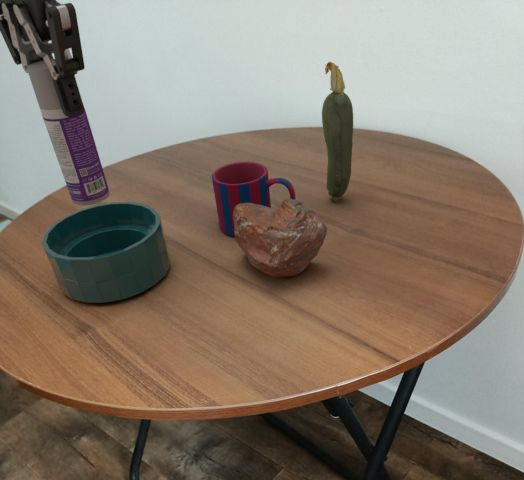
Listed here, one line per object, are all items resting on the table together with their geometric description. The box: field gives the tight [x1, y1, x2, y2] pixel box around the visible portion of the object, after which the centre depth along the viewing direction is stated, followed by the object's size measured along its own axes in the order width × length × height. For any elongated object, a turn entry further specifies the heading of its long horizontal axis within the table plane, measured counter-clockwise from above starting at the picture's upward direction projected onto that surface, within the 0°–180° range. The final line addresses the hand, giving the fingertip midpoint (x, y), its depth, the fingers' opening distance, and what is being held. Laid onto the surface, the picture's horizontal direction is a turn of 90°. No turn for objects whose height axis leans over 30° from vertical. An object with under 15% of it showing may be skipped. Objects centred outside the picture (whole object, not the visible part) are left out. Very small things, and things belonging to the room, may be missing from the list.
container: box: [27, 58, 111, 206], centre depth 60 cm, size 5×5×15 cm
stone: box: [233, 198, 328, 278], centre depth 65 cm, size 13×8×10 cm
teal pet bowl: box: [41, 201, 171, 304], centre depth 70 cm, size 15×15×7 cm
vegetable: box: [321, 61, 354, 202], centre depth 76 cm, size 4×4×20 cm
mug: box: [211, 161, 296, 238], centre depth 76 cm, size 8×12×8 cm, turn 64°
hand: (62, 110), depth 58 cm, fingers closed on container, 4 cm apart
